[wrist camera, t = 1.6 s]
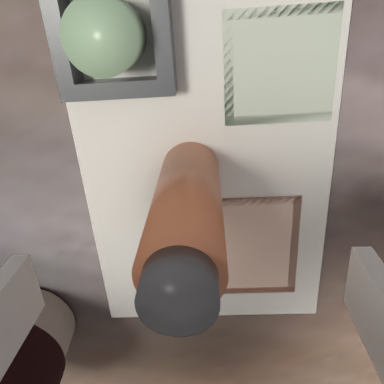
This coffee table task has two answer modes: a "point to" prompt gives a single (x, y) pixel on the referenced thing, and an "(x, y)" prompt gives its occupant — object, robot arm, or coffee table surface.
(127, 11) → the button
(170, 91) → the button housing
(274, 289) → the sheet
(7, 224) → the coffee table surface
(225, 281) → the marker
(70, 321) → the coffee cup
